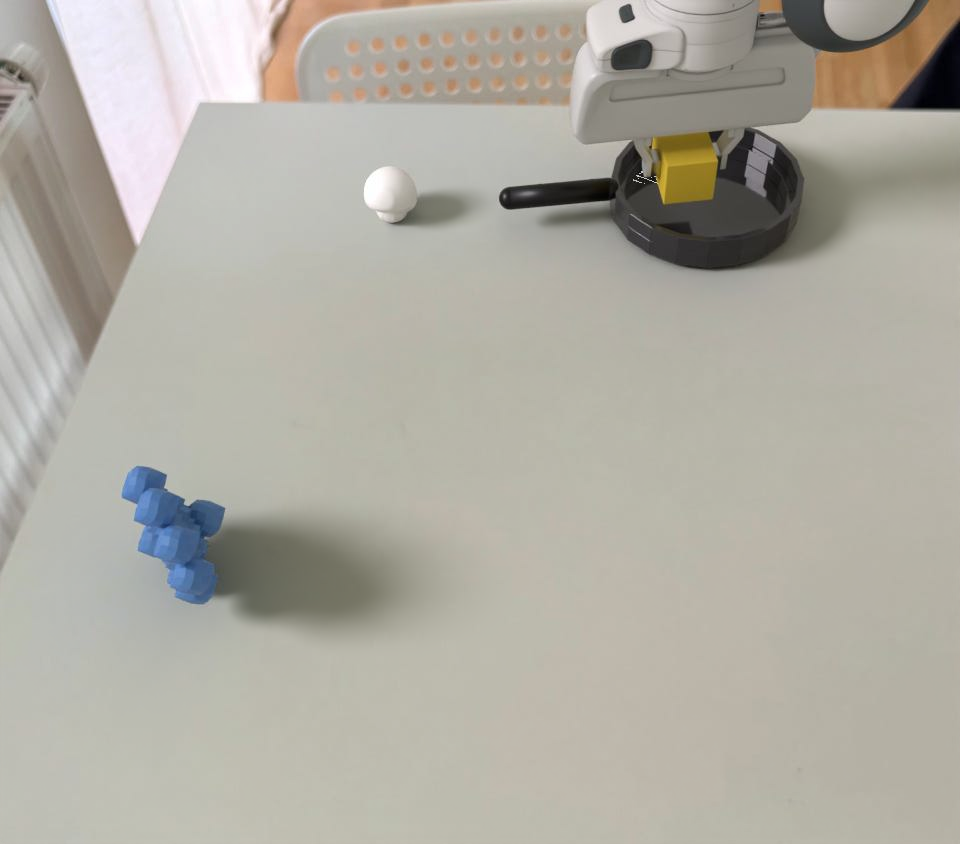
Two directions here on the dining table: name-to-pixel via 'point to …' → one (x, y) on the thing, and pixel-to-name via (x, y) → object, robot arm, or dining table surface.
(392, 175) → the mushroom
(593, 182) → the pan handle
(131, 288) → the dining table surface
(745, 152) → the pan
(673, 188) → the yellow block
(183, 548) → the grapes
